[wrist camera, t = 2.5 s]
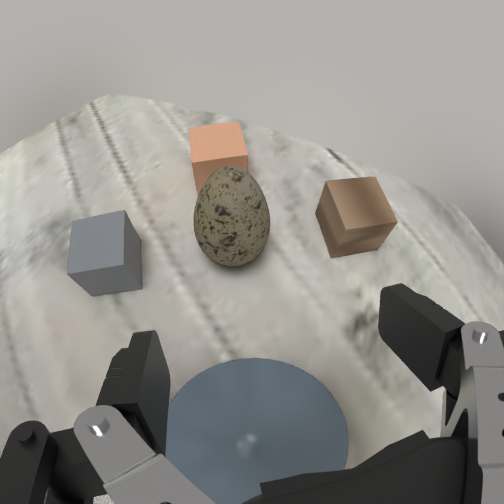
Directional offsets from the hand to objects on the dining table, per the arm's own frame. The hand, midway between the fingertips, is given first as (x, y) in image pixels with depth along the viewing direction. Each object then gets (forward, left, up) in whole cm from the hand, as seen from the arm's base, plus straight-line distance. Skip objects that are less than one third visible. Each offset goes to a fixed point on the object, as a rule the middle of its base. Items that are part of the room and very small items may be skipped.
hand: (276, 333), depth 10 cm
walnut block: (-1, +16, -14) cm, 21 cm away
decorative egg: (-9, +7, -14) cm, 18 cm away
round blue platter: (+3, -5, -14) cm, 15 cm away
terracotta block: (-15, +13, -14) cm, 25 cm away
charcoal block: (-16, -1, -14) cm, 21 cm away
